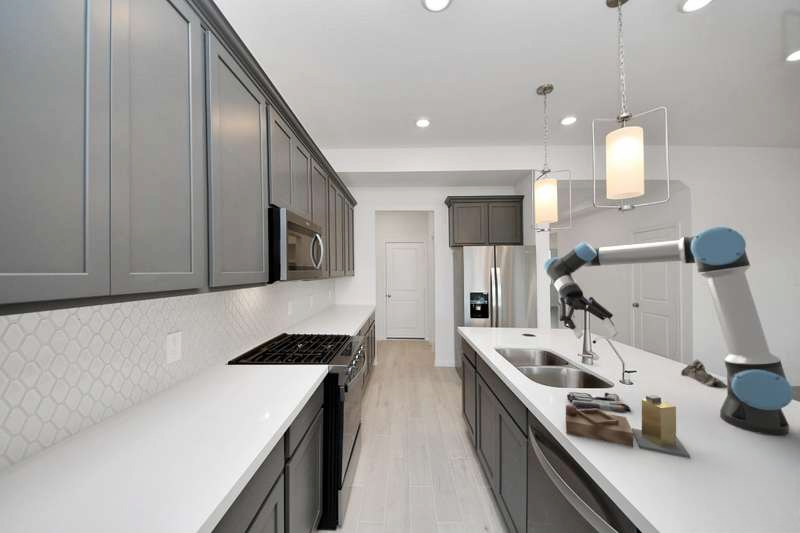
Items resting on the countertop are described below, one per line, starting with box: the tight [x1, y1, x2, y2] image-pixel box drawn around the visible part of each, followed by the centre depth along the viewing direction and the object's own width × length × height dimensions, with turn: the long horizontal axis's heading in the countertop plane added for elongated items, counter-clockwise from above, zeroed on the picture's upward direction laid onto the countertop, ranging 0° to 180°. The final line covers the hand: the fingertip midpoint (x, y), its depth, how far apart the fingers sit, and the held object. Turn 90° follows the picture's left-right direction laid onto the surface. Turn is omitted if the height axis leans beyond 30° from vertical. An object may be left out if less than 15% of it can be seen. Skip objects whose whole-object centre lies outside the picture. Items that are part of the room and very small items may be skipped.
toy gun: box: [566, 391, 631, 413], centre depth 122 cm, size 3×20×15 cm
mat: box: [631, 427, 691, 459], centre depth 93 cm, size 11×11×1 cm
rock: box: [680, 358, 727, 389], centre depth 145 cm, size 18×11×10 cm, turn 163°
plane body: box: [565, 404, 634, 448], centre depth 100 cm, size 17×11×6 cm
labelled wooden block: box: [641, 394, 677, 447], centre depth 94 cm, size 5×6×12 cm
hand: (598, 335), depth 111 cm, fingers open, 13 cm apart
